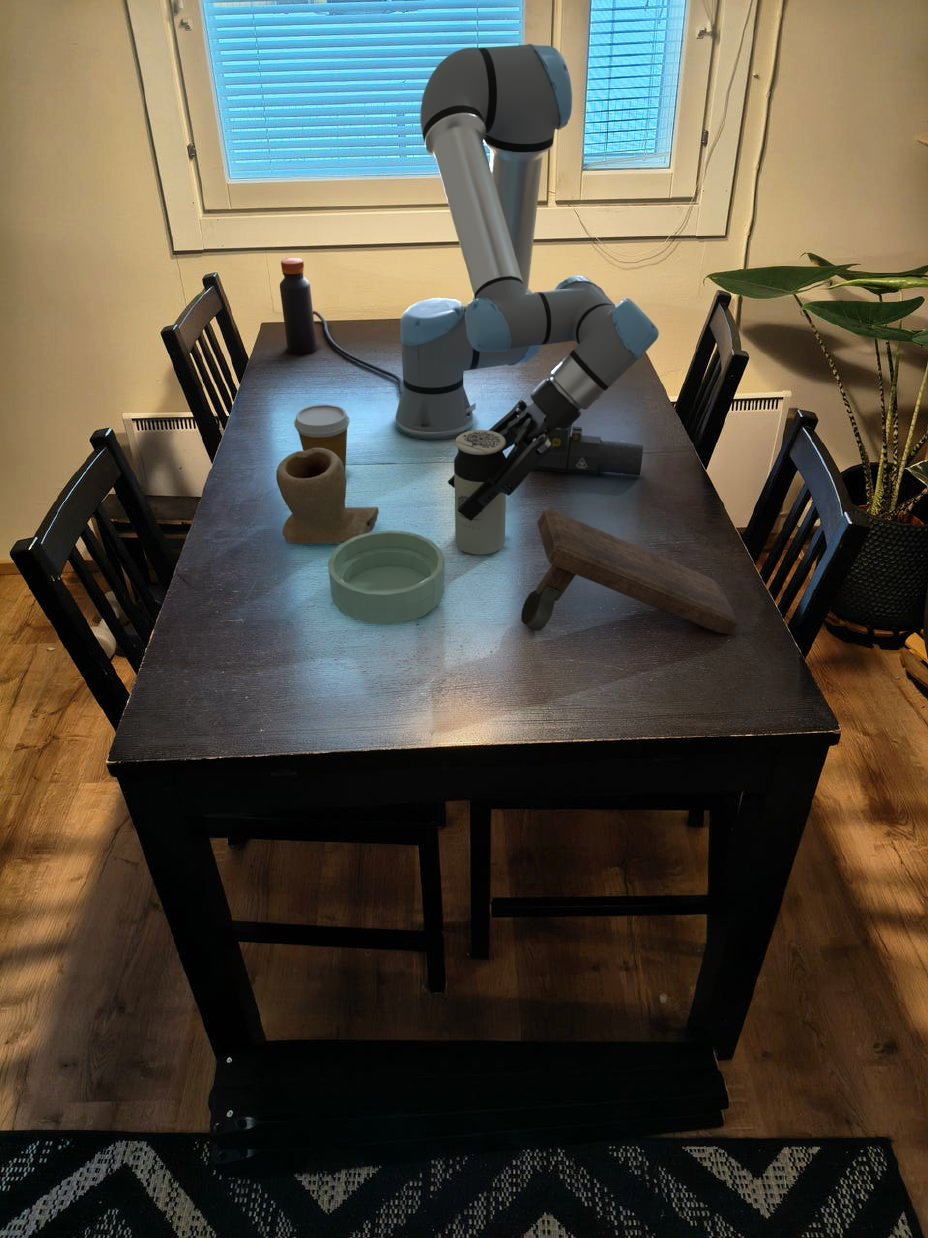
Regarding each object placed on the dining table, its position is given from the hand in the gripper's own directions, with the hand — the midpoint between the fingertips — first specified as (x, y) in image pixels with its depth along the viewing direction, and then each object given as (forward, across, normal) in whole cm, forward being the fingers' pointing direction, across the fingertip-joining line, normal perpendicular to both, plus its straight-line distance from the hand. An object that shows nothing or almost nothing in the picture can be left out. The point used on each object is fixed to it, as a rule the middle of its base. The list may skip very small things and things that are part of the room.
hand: (459, 500), depth 141 cm
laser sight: (-12, +21, -24) cm, 34 cm away
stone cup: (+20, +6, +8) cm, 23 cm away
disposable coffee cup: (+19, +27, +8) cm, 34 cm away
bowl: (+15, -11, +3) cm, 19 cm away
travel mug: (+4, 0, -8) cm, 9 cm away
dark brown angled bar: (-8, -24, -20) cm, 32 cm away
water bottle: (+21, +90, +9) cm, 93 cm away
